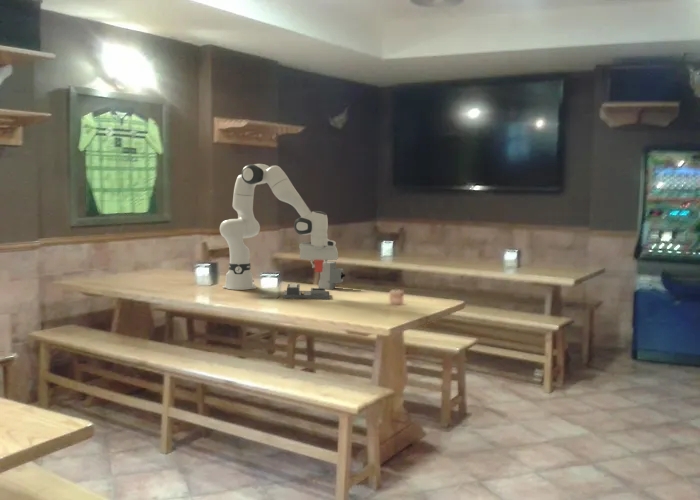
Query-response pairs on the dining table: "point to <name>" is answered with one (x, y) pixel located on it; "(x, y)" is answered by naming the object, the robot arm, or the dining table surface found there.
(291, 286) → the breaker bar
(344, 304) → the dining table surface
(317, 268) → the lockout cap
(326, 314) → the dining table surface
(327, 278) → the circuit breaker
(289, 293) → the breaker panel
